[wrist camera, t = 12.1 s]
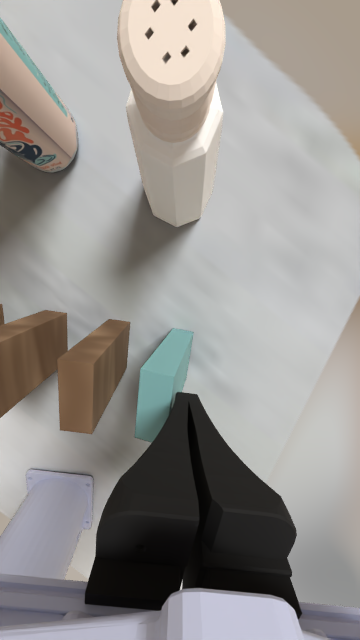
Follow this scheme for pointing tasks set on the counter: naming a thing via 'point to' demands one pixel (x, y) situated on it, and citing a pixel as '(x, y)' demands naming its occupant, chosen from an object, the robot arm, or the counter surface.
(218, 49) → the pepper shaker
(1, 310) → the walnut domino
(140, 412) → the teal domino
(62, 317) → the walnut domino
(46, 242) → the counter surface
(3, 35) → the beer can
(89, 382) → the walnut domino
